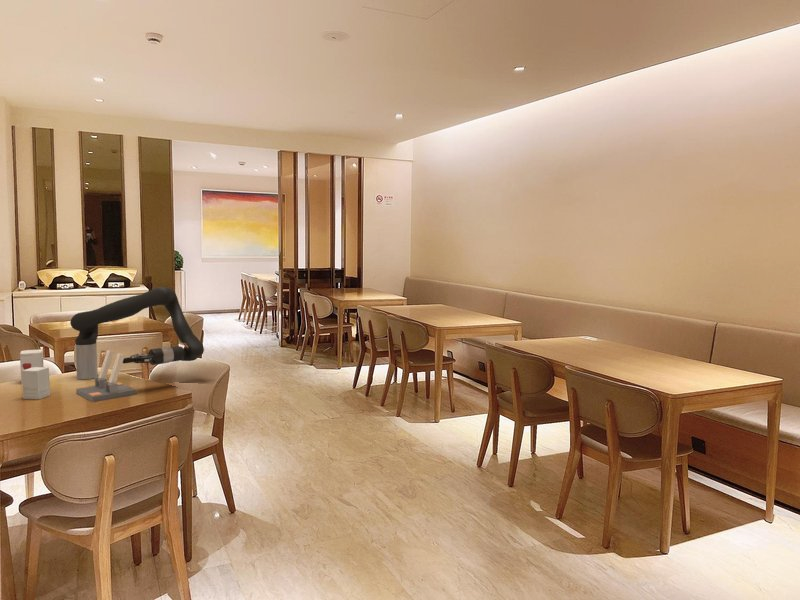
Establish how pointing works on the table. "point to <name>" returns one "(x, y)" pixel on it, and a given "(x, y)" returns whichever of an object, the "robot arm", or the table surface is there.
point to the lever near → (116, 369)
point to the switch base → (105, 391)
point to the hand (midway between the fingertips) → (122, 361)
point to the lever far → (105, 365)
